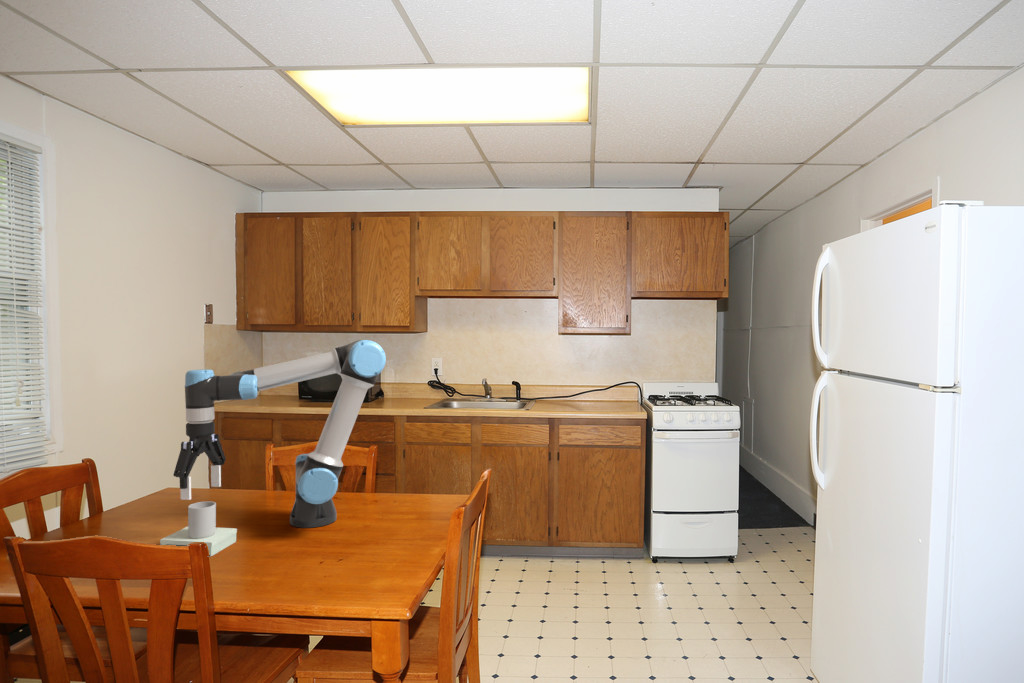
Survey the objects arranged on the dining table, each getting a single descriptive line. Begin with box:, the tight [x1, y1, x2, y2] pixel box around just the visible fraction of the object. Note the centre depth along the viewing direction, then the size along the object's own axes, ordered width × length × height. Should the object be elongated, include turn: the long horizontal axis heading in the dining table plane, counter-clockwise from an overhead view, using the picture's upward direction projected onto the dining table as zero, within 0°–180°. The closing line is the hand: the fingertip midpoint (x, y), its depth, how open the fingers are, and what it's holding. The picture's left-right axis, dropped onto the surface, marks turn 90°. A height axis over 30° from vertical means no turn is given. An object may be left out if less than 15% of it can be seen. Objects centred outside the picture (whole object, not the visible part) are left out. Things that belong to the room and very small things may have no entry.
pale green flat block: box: [159, 526, 238, 557], centre depth 169 cm, size 16×12×4 cm
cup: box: [187, 500, 217, 539], centre depth 169 cm, size 7×10×9 cm
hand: (201, 492), depth 169 cm, fingers open, 13 cm apart
